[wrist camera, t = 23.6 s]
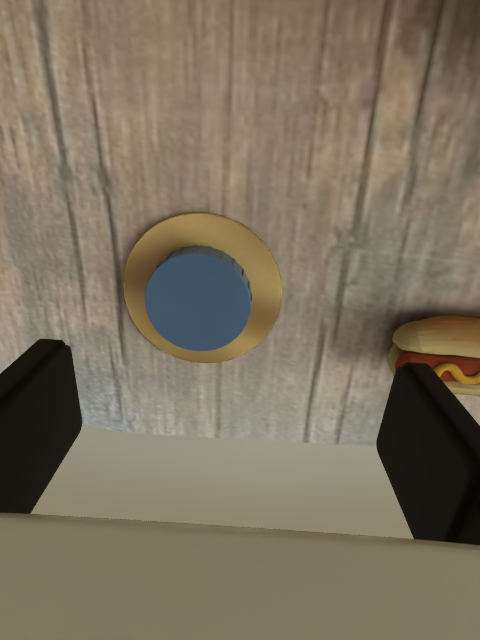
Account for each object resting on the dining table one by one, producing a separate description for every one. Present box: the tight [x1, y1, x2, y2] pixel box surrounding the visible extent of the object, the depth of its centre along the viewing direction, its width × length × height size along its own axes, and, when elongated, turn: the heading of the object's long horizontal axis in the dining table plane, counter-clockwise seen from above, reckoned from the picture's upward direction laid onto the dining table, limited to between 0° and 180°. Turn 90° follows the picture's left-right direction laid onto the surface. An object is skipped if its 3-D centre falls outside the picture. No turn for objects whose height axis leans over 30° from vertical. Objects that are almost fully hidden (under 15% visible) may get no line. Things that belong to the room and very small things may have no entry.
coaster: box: [123, 213, 282, 363], centre depth 26 cm, size 11×11×1 cm
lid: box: [145, 245, 252, 351], centre depth 25 cm, size 7×7×2 cm
